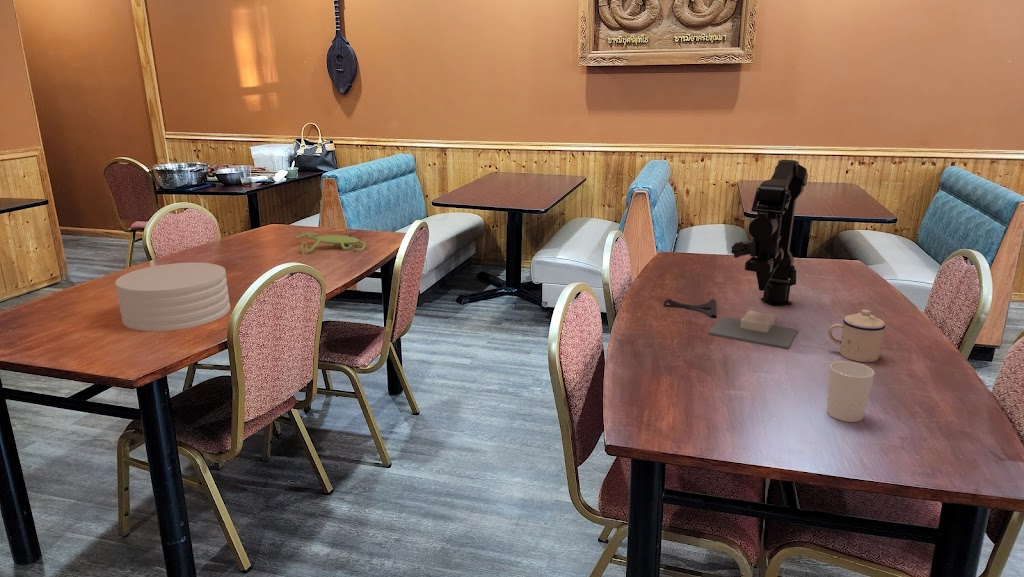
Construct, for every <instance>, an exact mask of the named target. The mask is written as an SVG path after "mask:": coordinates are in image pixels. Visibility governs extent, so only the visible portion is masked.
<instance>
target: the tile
mask: <svg viewBox="0 0 1024 577" xmlns="http://www.w3.org/2000/svg"><path fill="white" fill-rule="evenodd" d="M775 318H776V314H771V313H765V312H759V311H755V310H754V311H753V310H748V311H747V312H746V313H745V314H744V316H743V317H742V318H741V319H740V320H741V323H740V329H744V330H750V331H756V332H761V333H768V332H769V330H770V329H771V327H772V326H774V324H775Z"/></svg>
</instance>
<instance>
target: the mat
mask: <svg viewBox="0 0 1024 577" xmlns="http://www.w3.org/2000/svg"><path fill="white" fill-rule="evenodd" d="M740 323H741V319H738V318H731V317H726V316H722V317H720V319H719V320H718V321H717V322H716V323H715V324H714V326H712V327H711V328H710V329H709V331H708V332H707V335H709V336H715V337H721V338H726V339H731V340H736V341H742V342H748V343H751V344H752V343H753V344H758V345H762V346H769V347H774V348H780V349H784V350H785V349H786V350H789V348H790V347H791V346H792V343H793V342H794V340H795V338H796V337H797V335H798V333H799V329H796V328H795V329H794V328H789V327H784V326H777V325H773V326H772V327H771V329H770V330H769V332H768V333H761V332H756V331H750V330H744V329H740Z"/></svg>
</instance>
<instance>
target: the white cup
mask: <svg viewBox="0 0 1024 577" xmlns="http://www.w3.org/2000/svg"><path fill="white" fill-rule="evenodd" d="M828 374H829V375H828V384H827V385H828V386H827V387H828V388H827V398H826V399H827V400H826V401H827V405H826V413H827V414H828V415H829V416H830V417H832V418H834V419H836V420H838V421H842V422H848V423H857V422H860V421H862V420H863V419H864V418H865V412H866V409H867V408H866V407H867V405H868V402H869V398H870V394H871V391H872V385H873V381H874V376H875V371H874V370H873V368H871V367H870V366H867V365H866V364H862V363H860V362H856V361H849V360H848V361H846V360H839V361H834V362H832V363H830V364H829V373H828Z"/></svg>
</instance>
